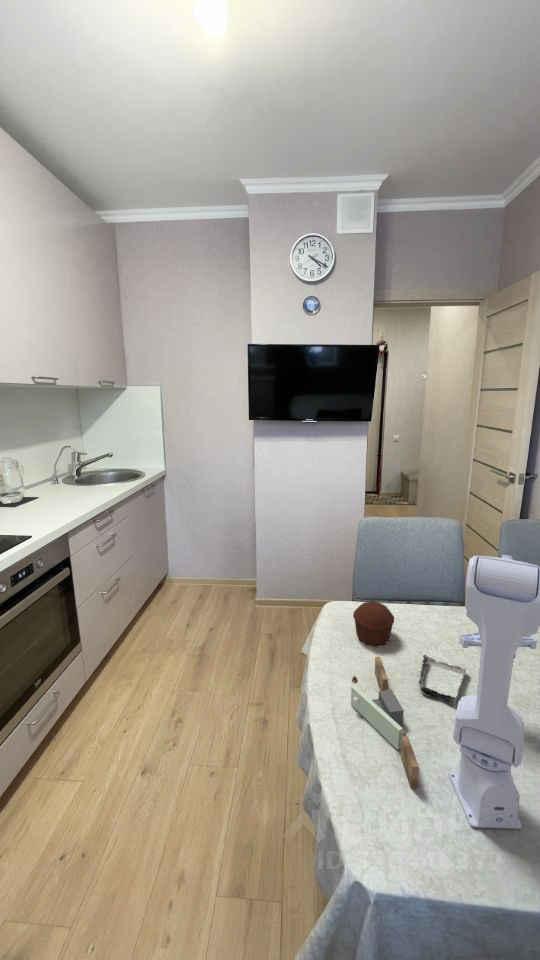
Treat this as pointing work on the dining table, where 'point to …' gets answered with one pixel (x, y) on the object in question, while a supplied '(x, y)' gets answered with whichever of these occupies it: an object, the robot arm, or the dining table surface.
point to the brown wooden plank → (406, 748)
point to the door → (376, 717)
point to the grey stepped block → (390, 705)
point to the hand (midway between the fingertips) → (493, 676)
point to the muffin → (373, 623)
